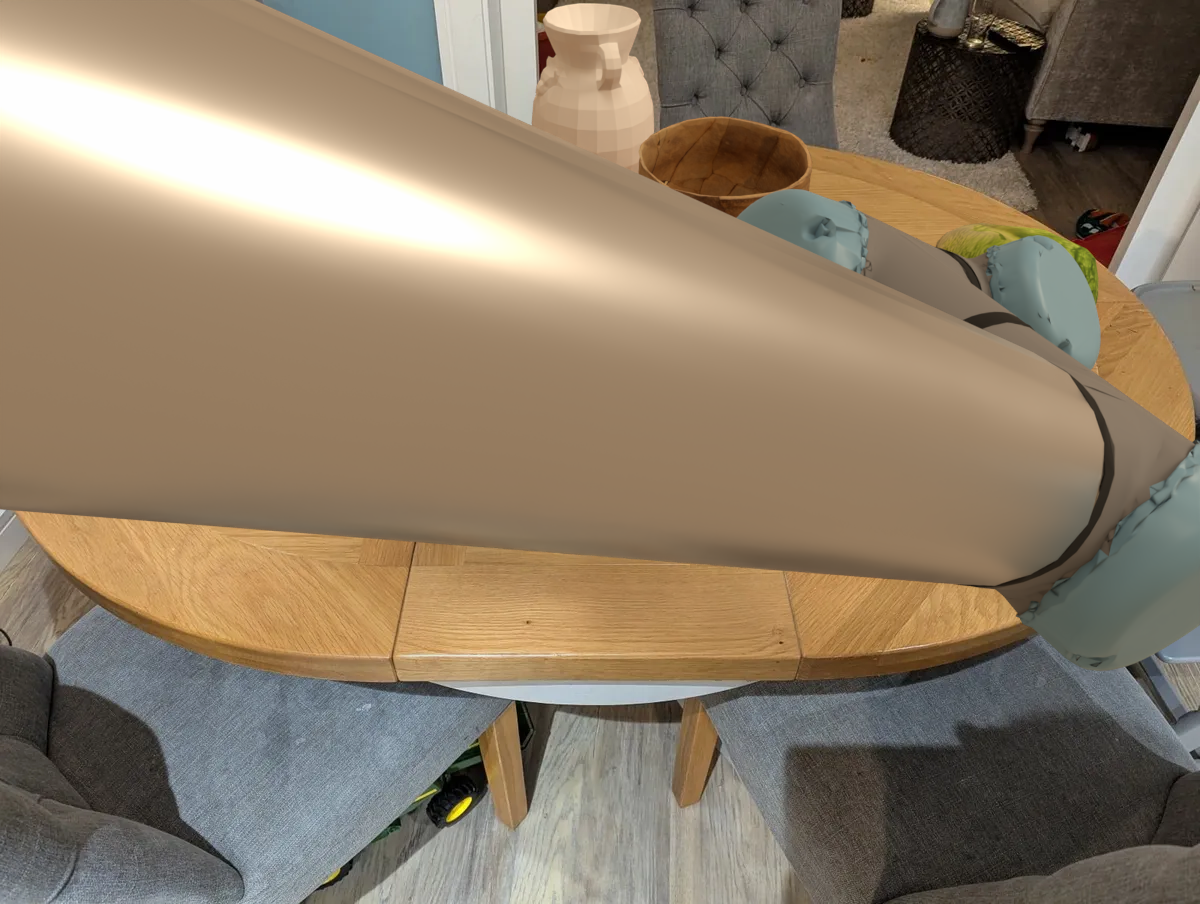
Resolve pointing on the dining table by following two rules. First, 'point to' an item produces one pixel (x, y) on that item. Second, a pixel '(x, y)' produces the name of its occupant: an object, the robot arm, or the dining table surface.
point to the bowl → (726, 161)
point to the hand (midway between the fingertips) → (600, 470)
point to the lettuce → (983, 236)
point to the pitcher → (595, 83)
